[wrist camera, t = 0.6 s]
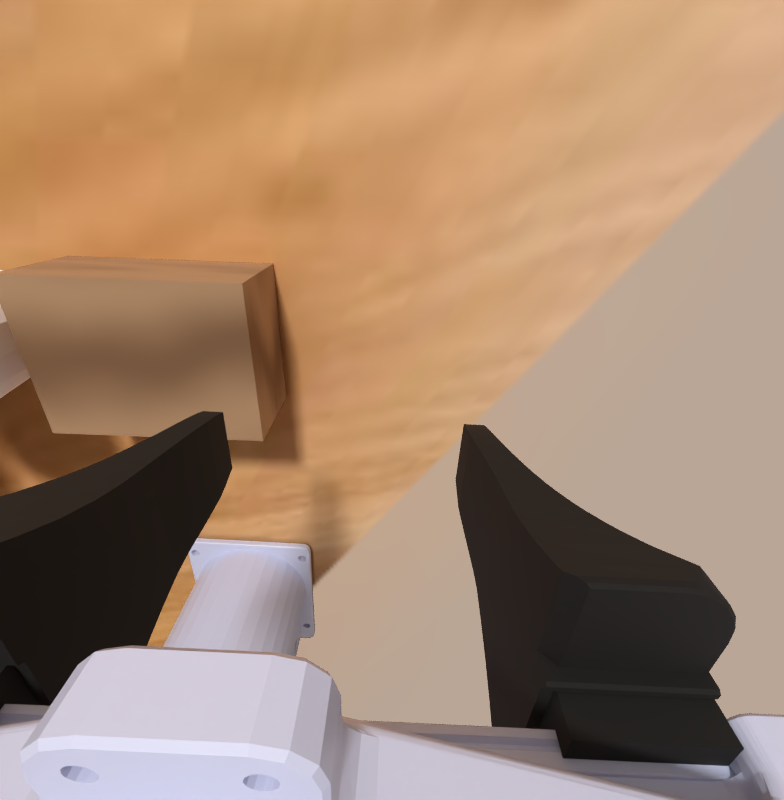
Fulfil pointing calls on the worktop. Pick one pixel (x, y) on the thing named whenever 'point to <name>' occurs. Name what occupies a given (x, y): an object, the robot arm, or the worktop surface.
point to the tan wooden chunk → (148, 343)
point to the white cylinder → (10, 359)
